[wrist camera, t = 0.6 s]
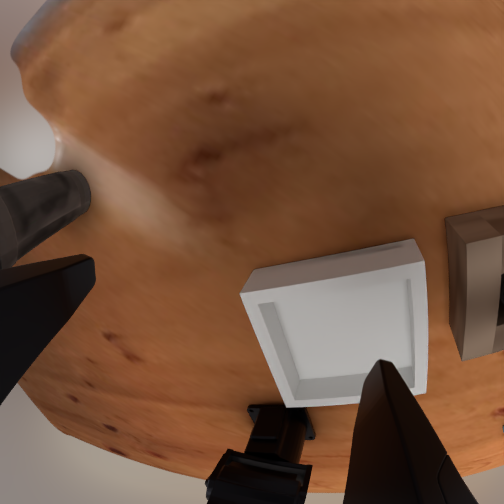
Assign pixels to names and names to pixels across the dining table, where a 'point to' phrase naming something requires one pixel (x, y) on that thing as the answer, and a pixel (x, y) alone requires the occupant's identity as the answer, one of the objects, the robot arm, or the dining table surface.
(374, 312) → the tray
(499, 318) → the block
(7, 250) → the beverage cup
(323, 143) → the dining table surface
